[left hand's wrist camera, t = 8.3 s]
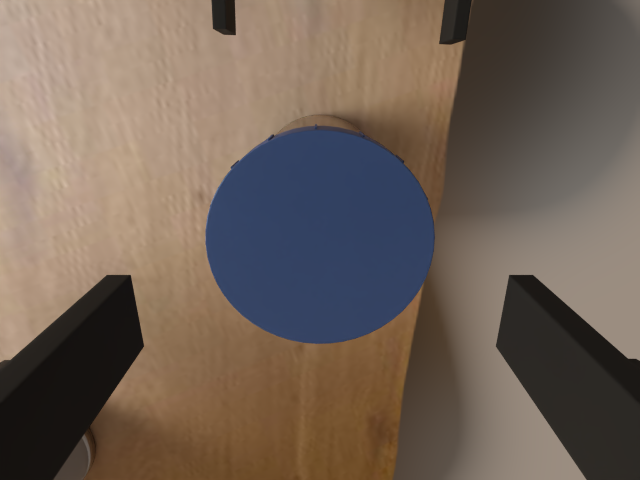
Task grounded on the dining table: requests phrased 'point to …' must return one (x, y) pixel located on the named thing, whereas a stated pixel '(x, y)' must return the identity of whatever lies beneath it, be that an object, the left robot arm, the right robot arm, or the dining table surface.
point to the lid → (320, 235)
